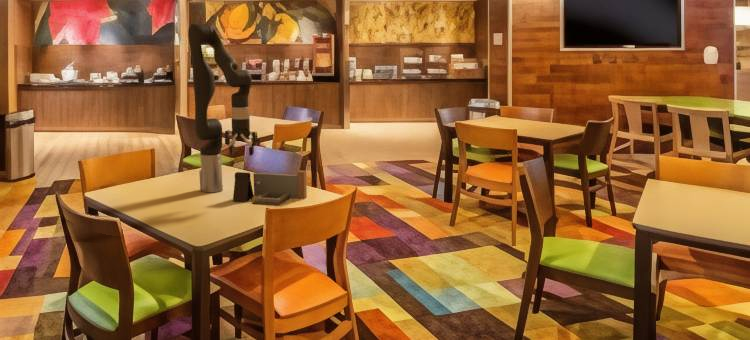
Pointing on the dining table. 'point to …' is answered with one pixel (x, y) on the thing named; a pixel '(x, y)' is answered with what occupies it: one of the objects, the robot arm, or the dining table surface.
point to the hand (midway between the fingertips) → (241, 154)
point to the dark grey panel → (281, 184)
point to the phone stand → (242, 187)
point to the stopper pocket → (272, 199)
